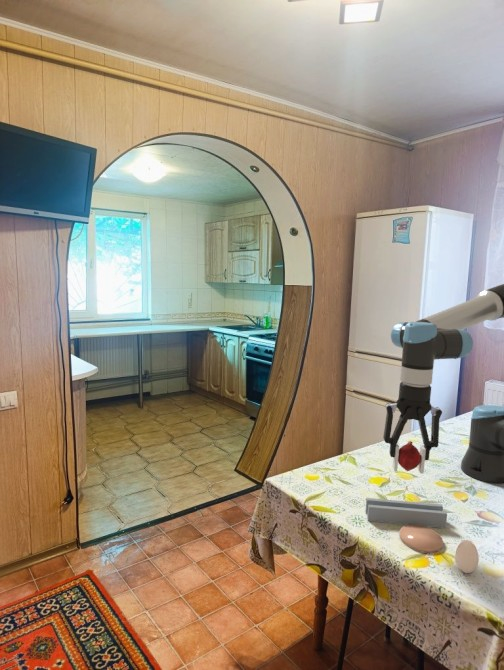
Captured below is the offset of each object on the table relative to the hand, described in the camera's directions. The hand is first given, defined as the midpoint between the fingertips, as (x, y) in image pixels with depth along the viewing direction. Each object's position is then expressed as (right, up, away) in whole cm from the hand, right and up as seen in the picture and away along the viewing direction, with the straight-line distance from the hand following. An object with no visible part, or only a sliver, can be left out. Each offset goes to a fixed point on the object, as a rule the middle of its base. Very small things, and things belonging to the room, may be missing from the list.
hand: (407, 469), depth 112 cm
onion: (0, -1, 0) cm, 0 cm away
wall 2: (0, -15, +3) cm, 15 cm away
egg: (+7, -18, -16) cm, 25 cm away
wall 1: (+1, -15, +6) cm, 16 cm away
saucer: (+2, -16, -4) cm, 17 cm away
